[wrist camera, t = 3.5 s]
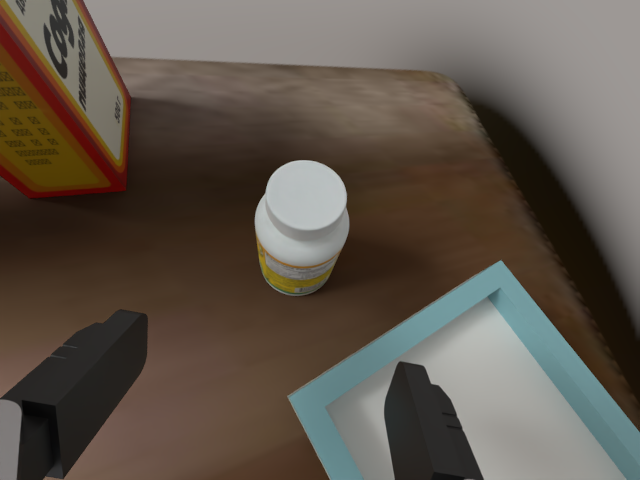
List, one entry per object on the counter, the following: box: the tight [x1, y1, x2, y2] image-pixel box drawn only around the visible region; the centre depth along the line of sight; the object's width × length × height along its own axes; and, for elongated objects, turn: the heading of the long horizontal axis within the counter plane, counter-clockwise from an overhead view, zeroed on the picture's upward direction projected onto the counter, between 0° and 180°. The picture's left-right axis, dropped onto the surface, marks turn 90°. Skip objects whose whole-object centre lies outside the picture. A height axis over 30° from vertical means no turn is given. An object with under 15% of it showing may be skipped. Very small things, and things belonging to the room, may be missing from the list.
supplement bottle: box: [255, 160, 349, 296], centre depth 21 cm, size 5×5×10 cm
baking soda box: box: [0, 0, 131, 199], centre depth 20 cm, size 10×6×16 cm
